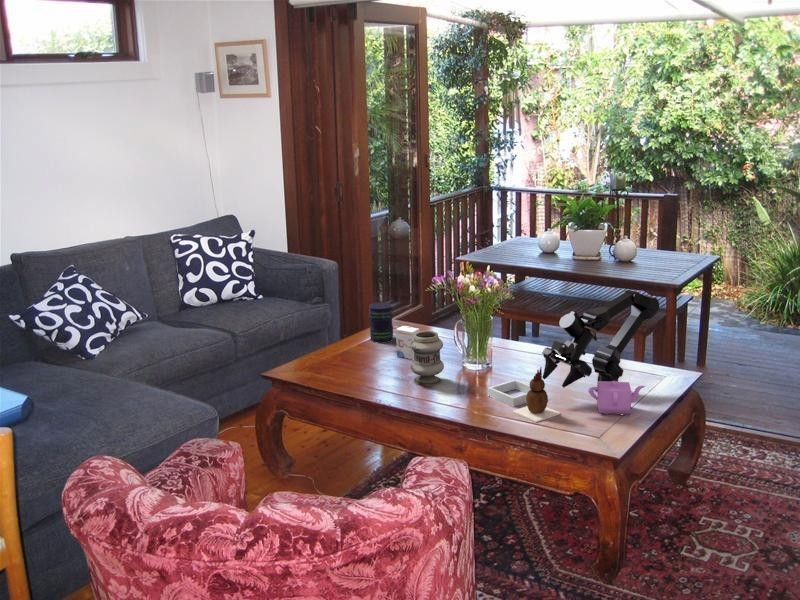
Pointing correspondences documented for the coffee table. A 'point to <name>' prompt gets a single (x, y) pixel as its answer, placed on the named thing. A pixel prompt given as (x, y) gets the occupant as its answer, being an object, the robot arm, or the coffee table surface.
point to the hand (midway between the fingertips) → (553, 382)
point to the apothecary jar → (427, 358)
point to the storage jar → (381, 322)
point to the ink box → (405, 341)
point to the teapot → (614, 397)
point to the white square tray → (498, 390)
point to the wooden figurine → (537, 394)
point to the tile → (536, 414)
